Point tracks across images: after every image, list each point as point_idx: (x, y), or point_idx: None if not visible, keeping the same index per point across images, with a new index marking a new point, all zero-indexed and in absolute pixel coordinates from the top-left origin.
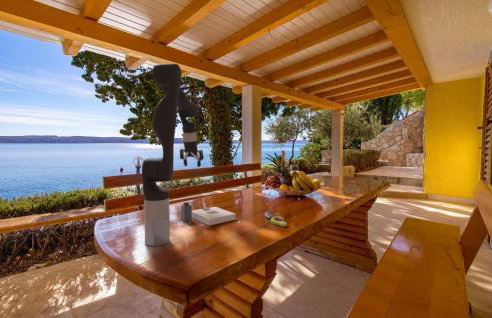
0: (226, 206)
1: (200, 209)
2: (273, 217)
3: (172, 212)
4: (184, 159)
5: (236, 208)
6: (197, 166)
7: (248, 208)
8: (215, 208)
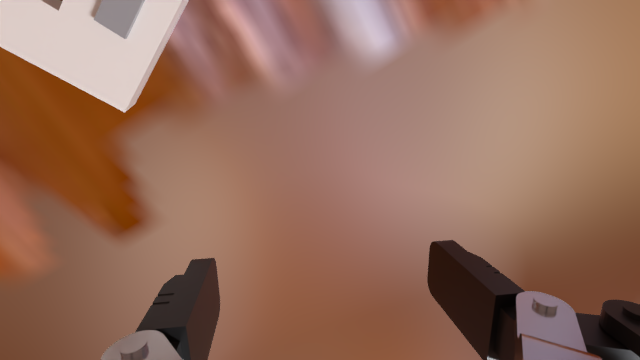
0: (148, 218)
1: (167, 10)
2: None
3: (363, 16)
4: (525, 308)
5: (68, 201)
6: (212, 261)
7: (3, 222)
8: (90, 67)
